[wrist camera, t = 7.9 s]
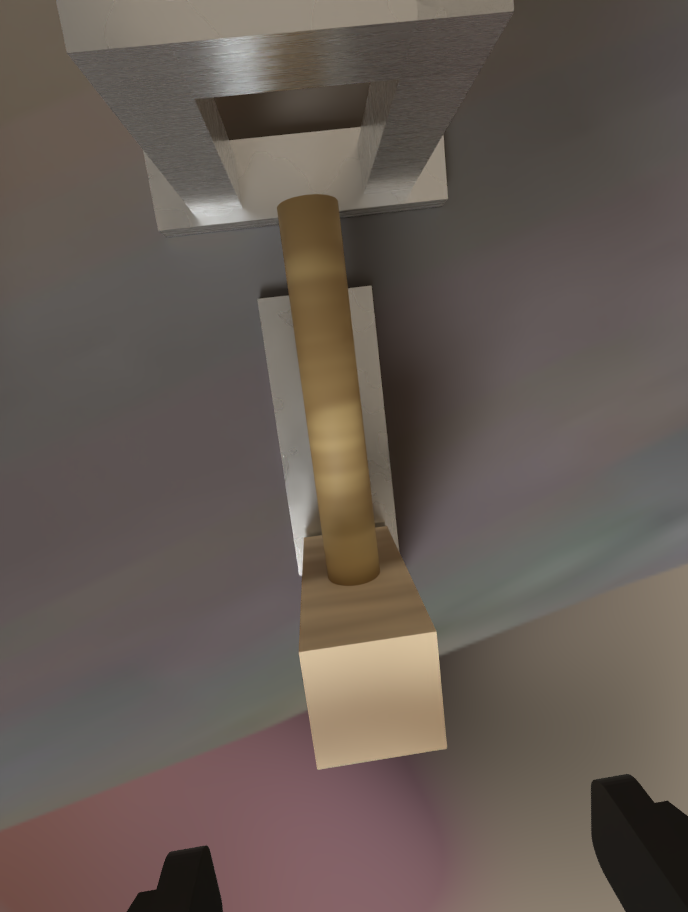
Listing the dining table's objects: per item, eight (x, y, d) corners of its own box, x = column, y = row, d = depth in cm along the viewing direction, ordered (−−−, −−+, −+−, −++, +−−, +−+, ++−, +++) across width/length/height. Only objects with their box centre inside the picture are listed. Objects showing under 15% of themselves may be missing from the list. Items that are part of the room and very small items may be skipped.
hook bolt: (259, 241, 20) (218, 140, 11) (354, 230, 20) (390, 122, 11) (314, 613, 23) (317, 769, 14) (395, 602, 23) (447, 748, 14)
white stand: (151, 160, 19) (-49, -96, 9) (435, 130, 20) (583, -145, 9) (229, 581, 23) (158, 769, 12) (466, 547, 24) (595, 699, 13)
